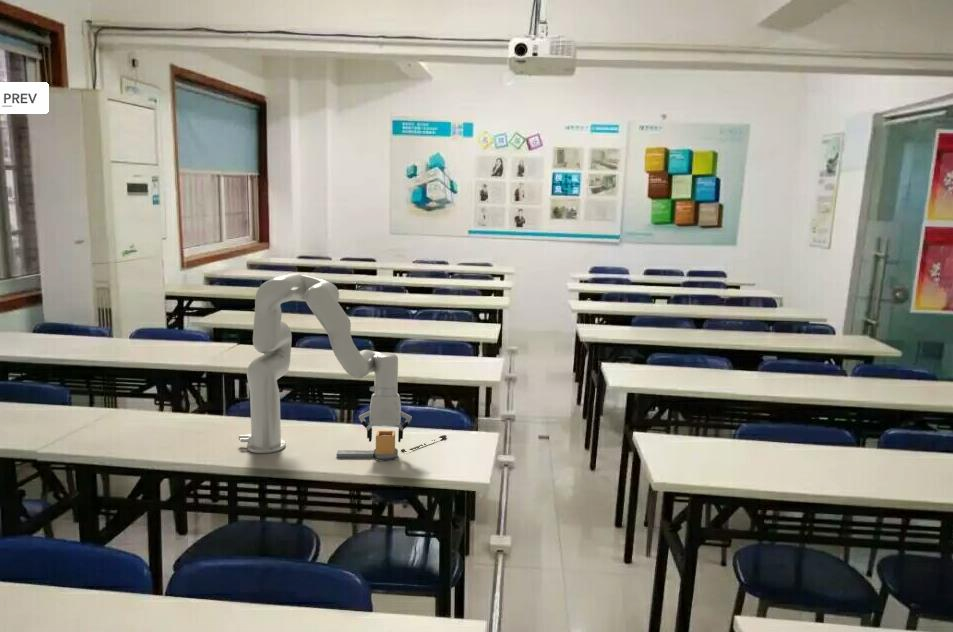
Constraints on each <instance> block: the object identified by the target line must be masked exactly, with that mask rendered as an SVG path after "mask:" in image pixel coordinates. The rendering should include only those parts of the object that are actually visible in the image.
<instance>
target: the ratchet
mask: <svg viewBox="0 0 953 632" xmlns="http://www.w3.org/2000/svg"><path fill="white" fill-rule="evenodd" d="M382 436H391V435H382ZM398 457H399V450H398V449H397V448H396V447H395V451H394V454H376V448H374V449H373V450H359V449H358V450H354V449H353V450H349V449H348V450H346V449H345V450H343V449H342V450H337V452H336V459H374V458H375V459H374V460H376V461H379V462H390V460H392V461H394V459H395V460H396V459H398Z"/></svg>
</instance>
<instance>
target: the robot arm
mask: <svg viewBox="0 0 953 632" xmlns="http://www.w3.org/2000/svg"><path fill="white" fill-rule="evenodd" d="M296 299H297V300H301V301H305V303H306V305H307V307H309V309H310V311H311V312H312V314H313V315H314V316H315V317H316V319H317V320H318V322H319V323H320V325H321V327H322V328H323V329H324V331H325V333H326V334H327V335H328V339H329V343H330V346H331V348H332V352H333V353H334V356H335V357H336V360H337V361H338V362H339V364H340V365H341V367H342V369H344V371H345V373H347V374H348V376H349V377H351V378H353V379H357V380H359V379H360V380H361V379H363V378H365V377H367V376H368V375H369V374H371V373H374V382H373V383H374V384H373V386H369V391H370V392H372V394H371V398H370V404H369V410H368V411H366V412H363V413H362V414H359V416H358V419H359V422H360V423H361V425H362V426H363V427H364V428H365V430H366V439H368V442H372V440H373V426H375V427H377V426H378V427H397V428H398V432H397V433H398V435H397V436H398V437H397V441H398V443H401V440H403V439H404V438H403V437H404V429H406V427H408V426H409V424H410V423H411V421H412V416H411V415H410V414H408V413H406V412H404V411H402V404H401V396H400V394H399V393H398V383H399V380H398V376H399V375H398V374H399V358H398V355H397V354H396V353H392V352H379V351H375V350H372V349H371V350H370V349H363V350H360V351H359V349H358V348H357V346H356V345H355V343H354V341H353V338H352V332H351V329H352V328H351V327H352V323H351V319H350V318H349V316H348V314H347V313H346V312H345V311H344V309H343V307H342V306H341V305H340V303H339V302H338V300H339V299H340V292H339V289H338V287H337V286H336V285H335V284H334V283H332V282H330V281H328V280H324V279H321V278H317V277H312V276H309V275H305V274H300V273H289V274H285V275H280V276H276V277H273V278H271V279H268V280H266V281H265V282H263V283H262V284H261V285H260V286H259V287H258V289H257V291H256V293H255V297H254V305H255V306H254V318H253V331H252V333H253V334H252V344H253V348H254V349H255V350H256V351H257V352H258V353H260V354H263V355H260V356H258V357H256V358H255V359H253V361H251V362H250V363H249V365H248V367H247V370H246V377H247V383H248V389H249V401H250V403H249V404H250V428H251V429H250V433H249V434H239V435H238V440H239V441H240V443H246V449H247V451H249V452H251V453H253V454H272V453H276V452H278V451H281V450H283V449H285V447H286V445H287V444H286V441H285V440H284V439H282V438H281V437H282V435H281V434H282V433H281V432H282V430H281V395H280V390H279V385H278V380H279V379H281V377H283V376H285V375H286V374H287V373H288V372H289V369H290V365H291V355H292V353H291V352H292V341H293V340H292V338H293V335H292V331H291V329H290V327H289V326H288V324H287V323H285V322H284V321H282V308H281V304H283V303H288V302H291V301H293V300H296ZM367 417H369V418H368V419H369V422H367V420H366V419H365V418H367ZM401 418H404V419H405V420H404V422H403V423H402V419H401Z"/></svg>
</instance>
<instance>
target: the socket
mask: <svg viewBox="0 0 953 632" xmlns="http://www.w3.org/2000/svg"><path fill="white" fill-rule="evenodd" d="M382 435H391V436H382ZM395 448H396V430H379V429H378V430H376V434H375V449H376V454H394V451H395Z"/></svg>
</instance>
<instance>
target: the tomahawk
mask: <svg viewBox="0 0 953 632" xmlns="http://www.w3.org/2000/svg"><path fill="white" fill-rule="evenodd" d="M447 437H448V436H447V435H446V434H445V435H440V436H439V437H438V438H442V440H444V439H446V438H447ZM443 438H444V439H443ZM433 440H434V441H435V440H436V439H433ZM433 440H431V441H433ZM425 443H426V442H424V443H423V444H424V445H426V444H425ZM420 446H423V445H422V444H419V445H417V446H414V447H411V448H409V449H408V450H413V449H416V448H419V447H420ZM419 449H420V448H419ZM405 450H406V449H405V448H402V449H400V452H401V451H402V452H401V453H404V451H405ZM416 450H417V449H416ZM405 452H406V451H405Z"/></svg>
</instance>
